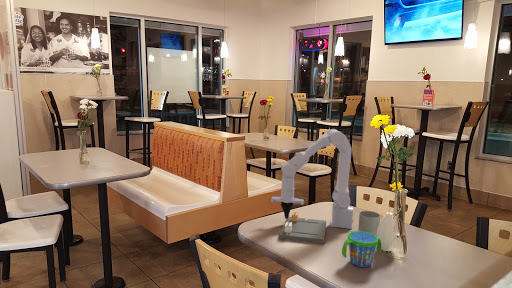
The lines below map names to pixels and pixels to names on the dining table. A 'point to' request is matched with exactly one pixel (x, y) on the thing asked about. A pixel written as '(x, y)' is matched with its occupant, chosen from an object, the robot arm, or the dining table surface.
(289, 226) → the block
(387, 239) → the sauce bottle
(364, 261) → the snack cup
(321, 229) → the console
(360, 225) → the cup
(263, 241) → the dining table surface
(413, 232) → the dining table surface
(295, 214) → the block
